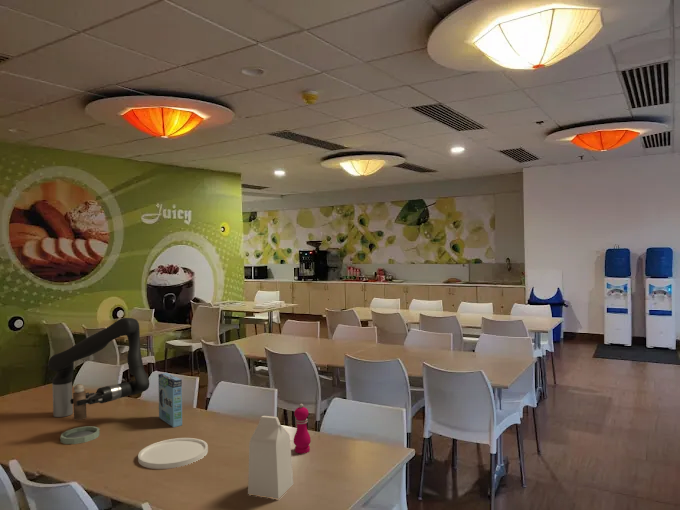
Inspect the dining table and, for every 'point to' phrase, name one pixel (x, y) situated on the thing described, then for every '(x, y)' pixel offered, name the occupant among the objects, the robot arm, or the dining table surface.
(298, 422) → the pepper mill
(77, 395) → the wooden peg figure
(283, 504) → the dining table surface
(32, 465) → the dining table surface
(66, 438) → the round tray
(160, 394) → the light blue cardboard box
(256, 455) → the milk
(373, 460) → the dining table surface
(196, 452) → the plate
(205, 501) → the dining table surface
